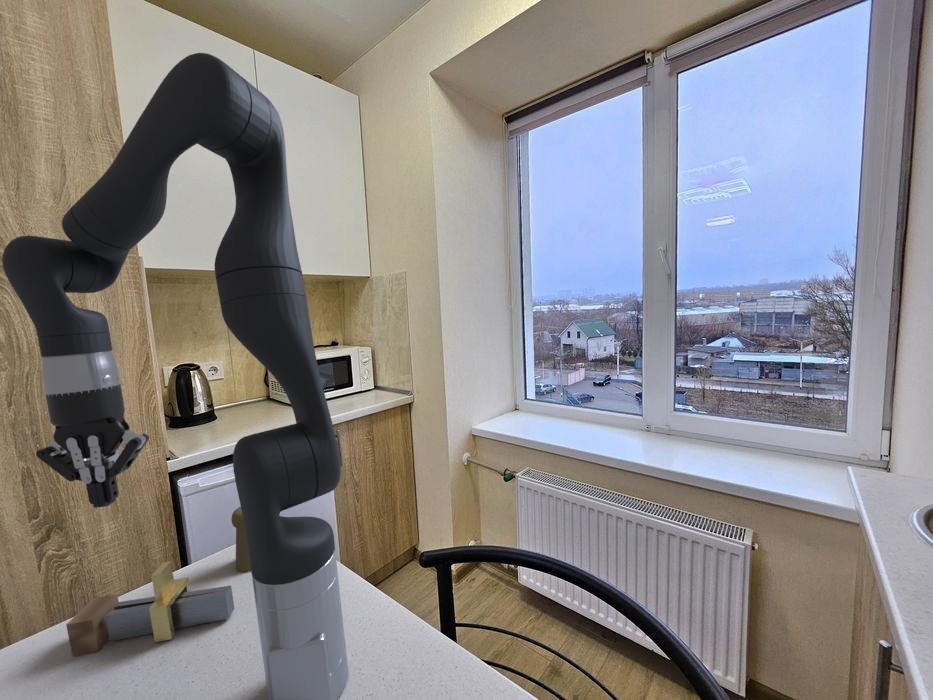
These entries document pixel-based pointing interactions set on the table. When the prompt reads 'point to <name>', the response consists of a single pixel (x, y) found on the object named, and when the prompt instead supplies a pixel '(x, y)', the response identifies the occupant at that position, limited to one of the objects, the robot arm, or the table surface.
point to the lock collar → (165, 600)
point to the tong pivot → (90, 626)
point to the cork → (241, 542)
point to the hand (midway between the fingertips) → (105, 504)
